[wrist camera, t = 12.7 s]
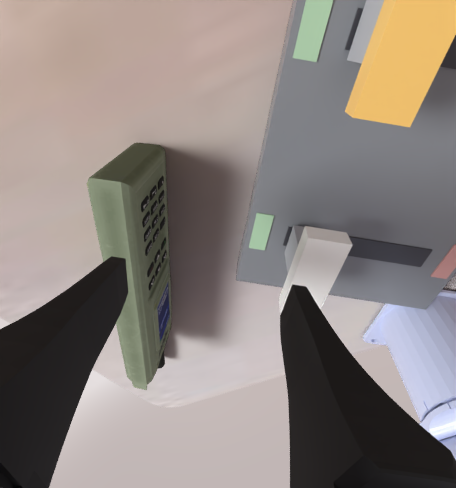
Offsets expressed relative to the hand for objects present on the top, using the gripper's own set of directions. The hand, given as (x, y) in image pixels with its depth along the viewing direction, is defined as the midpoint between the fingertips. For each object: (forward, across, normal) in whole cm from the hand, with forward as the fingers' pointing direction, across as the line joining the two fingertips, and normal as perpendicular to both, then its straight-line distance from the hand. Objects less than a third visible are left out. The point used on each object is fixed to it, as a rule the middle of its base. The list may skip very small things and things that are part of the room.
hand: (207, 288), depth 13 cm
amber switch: (+8, -6, -10) cm, 14 cm away
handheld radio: (+11, +5, +10) cm, 16 cm away
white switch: (+8, -6, +2) cm, 10 cm away
